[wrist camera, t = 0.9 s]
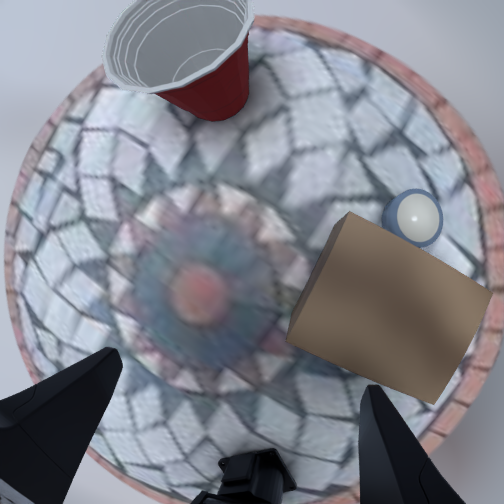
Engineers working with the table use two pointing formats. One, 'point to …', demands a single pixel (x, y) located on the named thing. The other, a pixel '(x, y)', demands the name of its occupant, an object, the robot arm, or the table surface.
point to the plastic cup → (184, 53)
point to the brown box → (387, 310)
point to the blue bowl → (414, 217)
